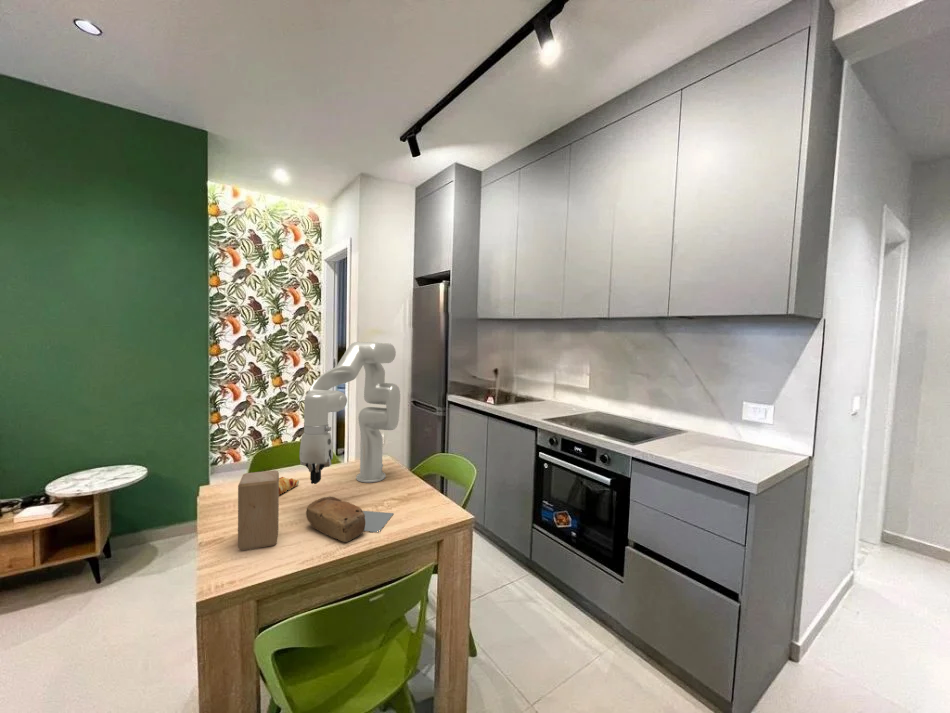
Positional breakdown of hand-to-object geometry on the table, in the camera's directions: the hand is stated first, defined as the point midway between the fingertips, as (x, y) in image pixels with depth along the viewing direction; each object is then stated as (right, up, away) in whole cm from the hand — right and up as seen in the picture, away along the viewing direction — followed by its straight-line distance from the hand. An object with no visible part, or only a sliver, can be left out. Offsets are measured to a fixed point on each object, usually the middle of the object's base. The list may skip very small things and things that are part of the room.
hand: (315, 482), depth 135 cm
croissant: (-25, -11, +20) cm, 34 cm away
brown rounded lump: (+2, -8, -3) cm, 8 cm away
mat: (+15, -13, -1) cm, 20 cm away
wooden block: (-10, -13, -16) cm, 23 cm away
